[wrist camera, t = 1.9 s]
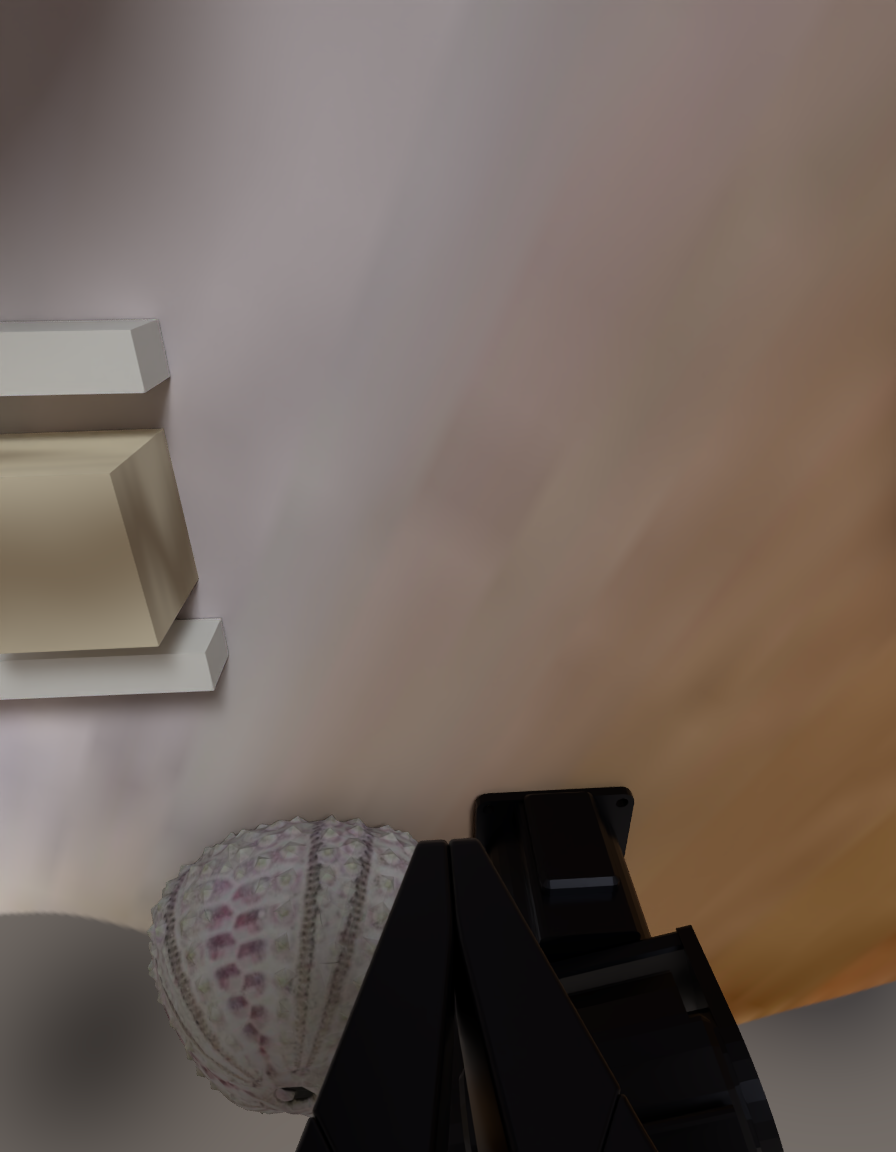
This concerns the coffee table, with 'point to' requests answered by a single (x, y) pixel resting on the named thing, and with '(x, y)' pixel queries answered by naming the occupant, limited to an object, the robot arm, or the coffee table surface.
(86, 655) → the channel
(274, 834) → the sea urchin shell
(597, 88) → the coffee table surface
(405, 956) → the robot arm
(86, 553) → the birch block
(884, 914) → the coffee table surface
